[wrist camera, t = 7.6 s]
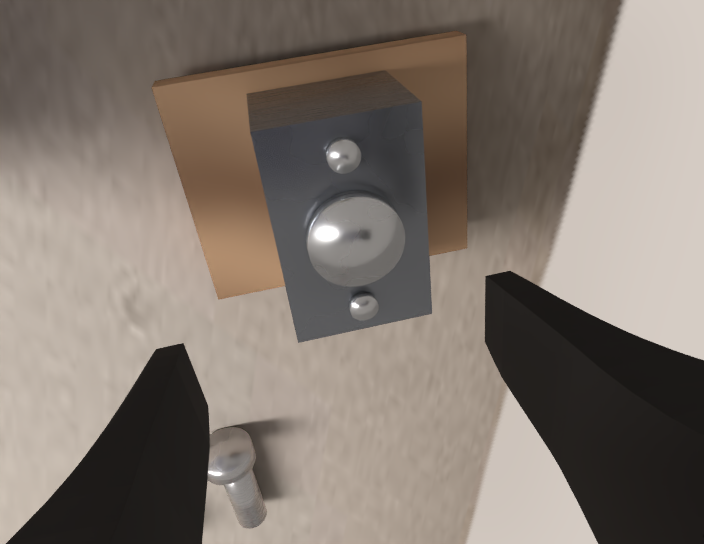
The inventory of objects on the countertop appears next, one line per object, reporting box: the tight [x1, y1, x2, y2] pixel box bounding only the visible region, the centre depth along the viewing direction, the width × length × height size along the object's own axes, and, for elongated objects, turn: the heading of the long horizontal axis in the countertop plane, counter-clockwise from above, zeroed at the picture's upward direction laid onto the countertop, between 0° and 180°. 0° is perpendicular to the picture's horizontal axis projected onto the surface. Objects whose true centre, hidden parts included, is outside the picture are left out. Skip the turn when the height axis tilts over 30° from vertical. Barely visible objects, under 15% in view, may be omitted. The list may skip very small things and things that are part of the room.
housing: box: [246, 70, 432, 343], centre depth 17 cm, size 4×7×5 cm, turn 7°
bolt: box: [207, 427, 267, 528], centre depth 28 cm, size 6×3×3 cm, turn 7°
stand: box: [152, 31, 467, 299], centre depth 20 cm, size 8×10×2 cm
